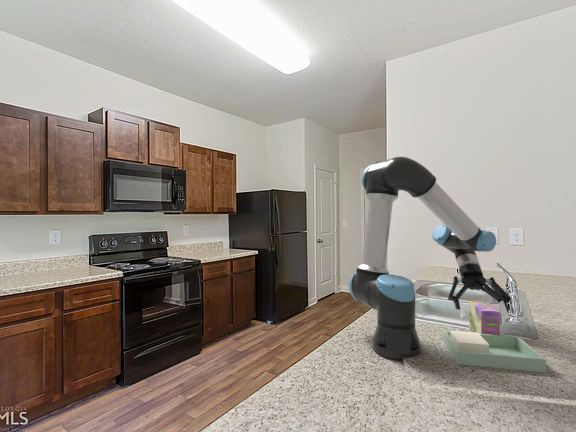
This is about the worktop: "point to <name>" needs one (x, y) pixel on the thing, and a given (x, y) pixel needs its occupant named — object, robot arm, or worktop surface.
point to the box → (483, 318)
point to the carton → (469, 342)
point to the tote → (499, 354)
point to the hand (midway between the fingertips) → (484, 318)
